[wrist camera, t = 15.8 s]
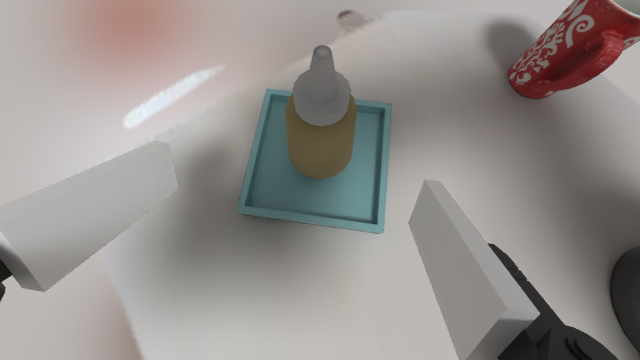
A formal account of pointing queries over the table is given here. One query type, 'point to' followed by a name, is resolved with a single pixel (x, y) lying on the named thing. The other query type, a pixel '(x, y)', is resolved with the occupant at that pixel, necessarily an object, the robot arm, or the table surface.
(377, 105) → the tray
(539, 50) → the mug
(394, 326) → the table surface
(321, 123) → the squeeze bottle
